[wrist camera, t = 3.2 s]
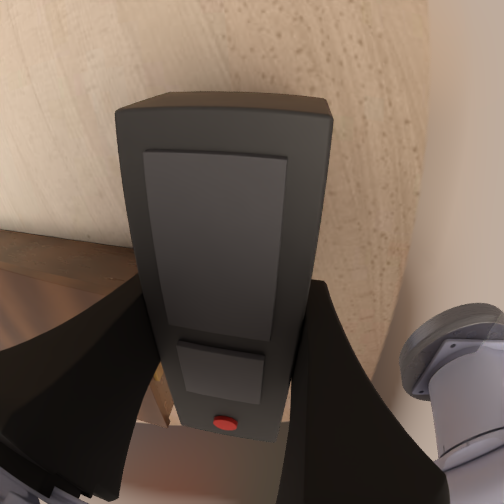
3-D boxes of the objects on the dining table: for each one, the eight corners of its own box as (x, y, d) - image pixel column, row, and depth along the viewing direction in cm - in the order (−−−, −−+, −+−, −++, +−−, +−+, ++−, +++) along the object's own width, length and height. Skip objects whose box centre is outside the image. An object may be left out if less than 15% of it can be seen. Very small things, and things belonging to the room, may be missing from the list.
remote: (167, 92, 7) (106, 112, 5) (326, 98, 7) (335, 117, 5) (197, 378, 14) (179, 429, 12) (283, 393, 14) (274, 448, 11)
